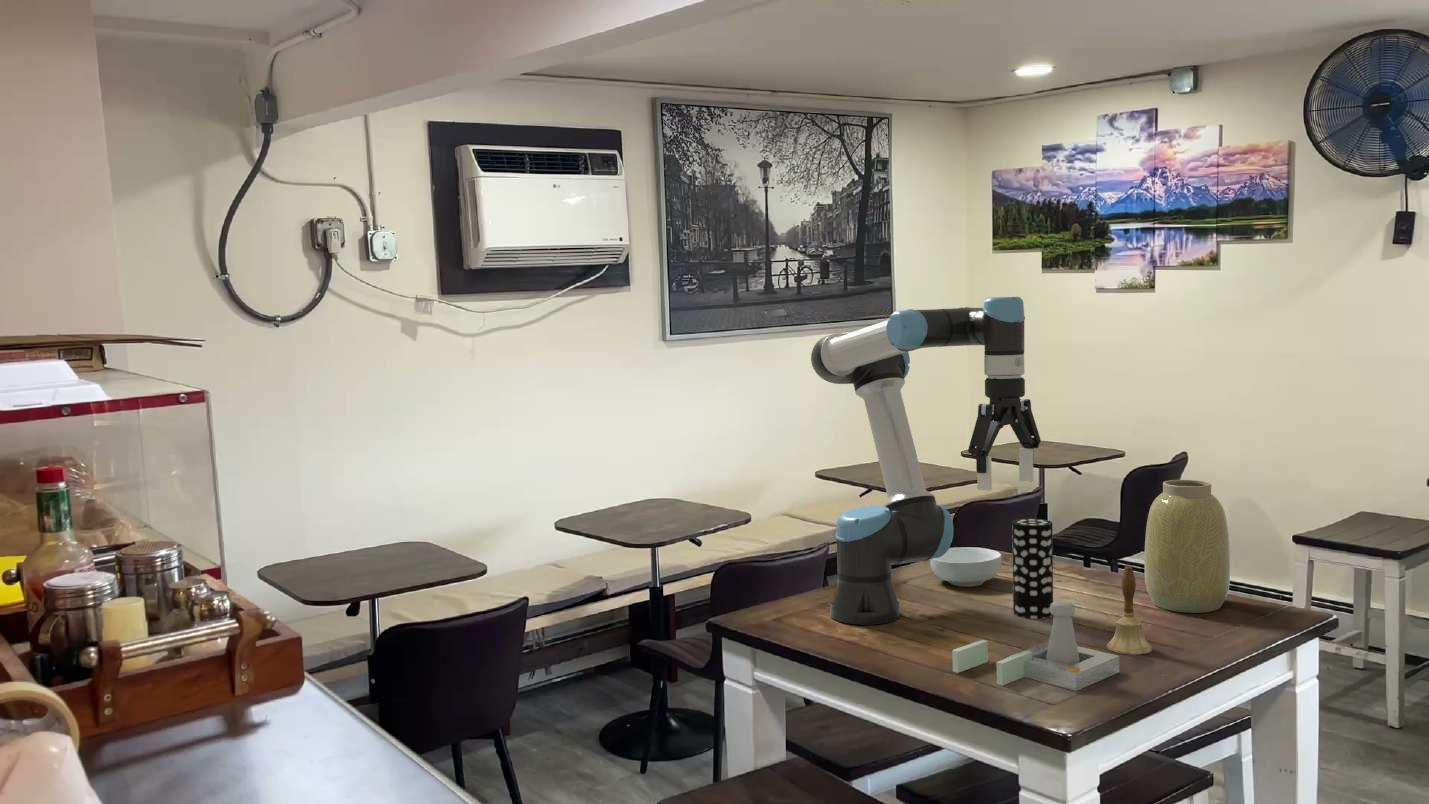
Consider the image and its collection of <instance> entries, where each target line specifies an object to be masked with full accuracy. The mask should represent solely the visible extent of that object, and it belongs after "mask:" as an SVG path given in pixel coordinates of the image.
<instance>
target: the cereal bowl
mask: <svg viewBox="0 0 1429 804" xmlns="http://www.w3.org/2000/svg"><path fill="white" fill-rule="evenodd" d="M929 561H930V567H931V569H932V572H933V574H935V576H936V577H938V578H939V579H941V580H943V581H946V582H948V583H949V584H950V585H952V586H957V587H969V588H970V587H978V586H981V585H983V584H984V583H985V582H986V581H990V580H991V579H993V578H995V576H997V575H998V573H999V572H1000V569H1001V566H1002V554H1001V552H999V551H997V550H993V549H988V548H983V547H981V548H980V547H970V546H969V547H968V546H967V547H950V548H949V549H948V551H947V552H946V553H945V554H944V555H943V556H941V557H939V558H934V559H930V560H929Z"/></svg>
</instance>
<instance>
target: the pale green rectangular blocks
mask: <svg viewBox="0 0 1429 804" xmlns="http://www.w3.org/2000/svg"><path fill="white" fill-rule="evenodd" d="M988 642H989V641H988V640H986V639H985V640H984V639H982V640H978V641H977V640H976V641H974V642H972V643H969V644H965V645H964V646H961V647H957V648H954V649H953V650H951V651H952V657H951V658H952V672H953V673H956V674H959V673H962V672H965V671H966V670H967V671H968V670H969V669H972V667H973V668H975V667H978V666H980V665H983V664H986V663H988V661H989V654H988V653H989V652H988V651H989V650H988V649H989V647H988V646H989V645H988V644H989V643H988ZM1023 651H1024V650H1023ZM1015 654H1016V653H1015ZM1029 658H1032V652H1029V651H1024V652H1022V653H1019V654H1016V655H1014V656H1011V657H1008V656H1007V657H1006V658H1003V659H1001V660H998V661H996V663H995V664H996V685H998V686H1005V685H1007V684H1010V683H1012V682H1014V681H1017V680H1020V679H1022V678H1025V677H1024V660H1027V659H1029Z"/></svg>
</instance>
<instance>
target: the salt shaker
mask: <svg viewBox="0 0 1429 804" xmlns="http://www.w3.org/2000/svg"><path fill="white" fill-rule="evenodd" d="M1075 611H1076V608H1075V605H1074V603H1072V602H1071V601H1068V600H1053V602H1052V603H1051V604H1050V612H1051V614H1052V616H1053V618H1052V626H1051V630H1050V636H1049V640H1048V641H1049V645H1048V650H1047V655H1046V660H1048V661H1052V662H1056V663H1060V664H1064V665H1068V666H1071V665H1075V664H1077V663H1079V662H1080V660H1079V654H1078V649H1077V646H1078V645H1077V639H1076V635H1075V634H1076V633H1075V630H1074V629H1075V628H1074V623H1073V619H1072V617H1073V616H1074V615H1075V614H1076V612H1075Z"/></svg>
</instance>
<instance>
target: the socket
mask: <svg viewBox="0 0 1429 804" xmlns="http://www.w3.org/2000/svg"><path fill="white" fill-rule="evenodd" d="M1048 645H1049V640H1048V641H1045V642H1043V643H1039V644H1037V645H1035V646H1032V647H1028V648H1027V649H1024V650H1021V651H1019V652H1015V653H1013V654H1010V655H1008V656H1007V658H1008V657H1011V656H1014V655H1016V654H1019V653H1022V652H1024V651H1029V652H1032V658H1029V659H1027V660H1024V677H1023V678H1025V679H1026V678H1027V679H1030V680H1035V681H1036V682H1037V681H1038V682H1042V683H1046V684H1049V685H1053V686H1056V687H1060V688H1064V689H1068V690H1070V691H1073V692H1074V691H1075V692H1077V691H1079V690H1082V689H1084V688H1086V687H1088V686H1091V685H1093V684H1095V683H1098V682H1100V681H1103V680H1104V679H1107V678H1109V677H1111V676H1114V675H1116V674H1118V673H1120V655H1116V654H1113V653H1108V652H1103V651H1100V650H1096V649H1091V648H1087V647H1084V646H1083V647H1082V646H1079V645H1077V649H1078V654H1079V660H1080V662H1079V663H1077V664H1075V665H1071V666H1068V665H1064V664H1060V663H1056V662H1052V661H1048V660H1046V655H1047V650H1048Z"/></svg>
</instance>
